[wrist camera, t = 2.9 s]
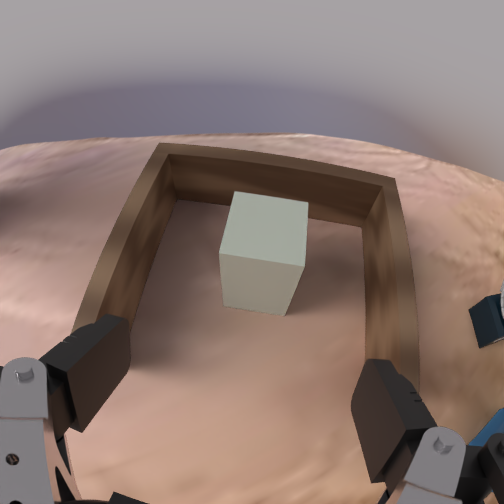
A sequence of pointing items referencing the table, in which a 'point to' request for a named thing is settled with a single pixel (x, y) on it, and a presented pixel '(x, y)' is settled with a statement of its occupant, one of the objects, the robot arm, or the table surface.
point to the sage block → (262, 252)
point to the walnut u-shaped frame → (275, 185)
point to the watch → (489, 319)
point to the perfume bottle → (490, 429)
